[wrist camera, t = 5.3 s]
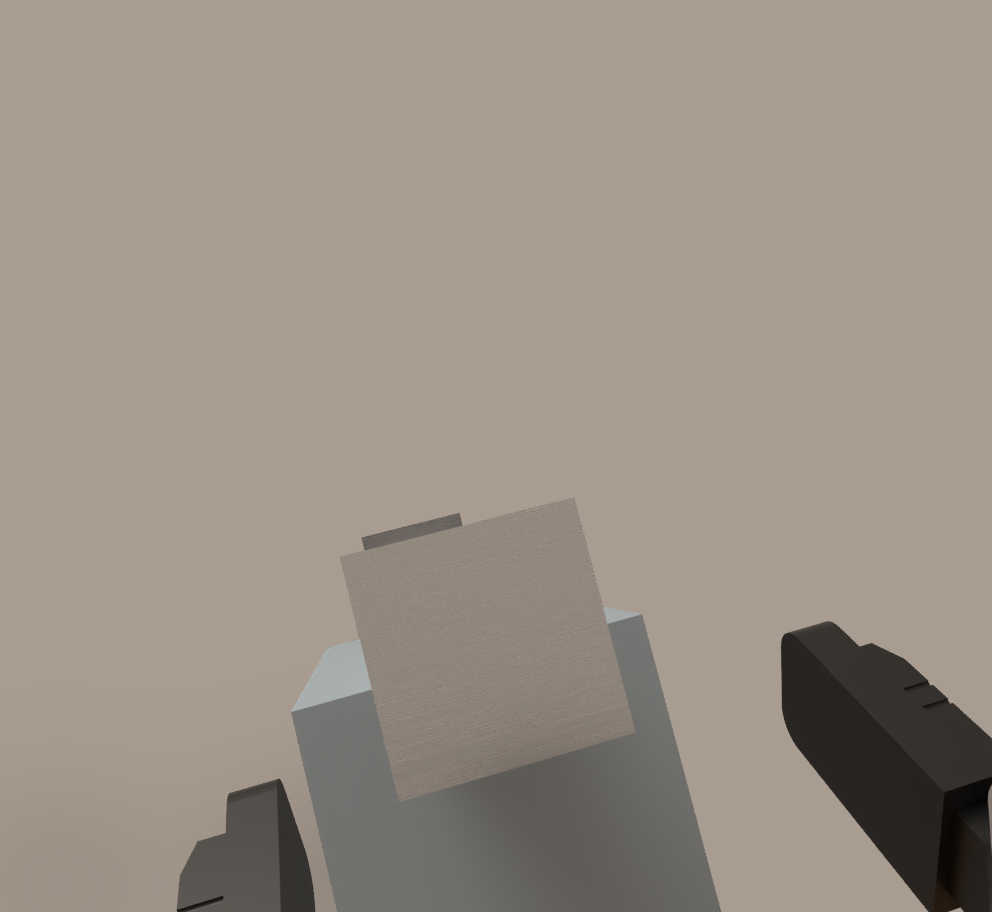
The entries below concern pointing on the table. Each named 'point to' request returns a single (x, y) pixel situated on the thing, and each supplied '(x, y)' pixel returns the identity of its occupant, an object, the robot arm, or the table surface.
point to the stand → (506, 810)
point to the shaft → (485, 645)
